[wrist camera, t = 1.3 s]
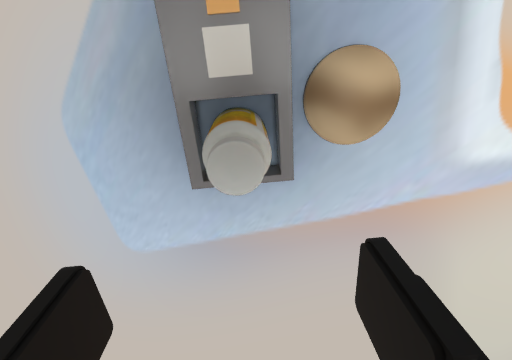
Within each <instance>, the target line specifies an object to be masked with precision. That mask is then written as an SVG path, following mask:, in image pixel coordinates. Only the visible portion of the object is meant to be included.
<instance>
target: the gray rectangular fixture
mask: <svg viewBox="0 0 512 360" xmlns="http://www.w3.org/2000/svg"><path fill="white" fill-rule="evenodd" d="M154 3H155V8H156V12H157V17H158V22H159V27H160V32H161V37H162V42H163V47H164V52H165V57H166V62H167V67H168V72H169V77H170V82H171V87H172V92H173V97H174V102H175V107H176V112H177V117H178V121H179V126H180V131H181V136H182V141H183V146H184V151H185V156H186V161H187V166H188V171H189V176H190V181H191V186H192V189H201V188H212V187H214V186H213V185H212V184H211V182H210V180H209V178H208V176H207V172H206V168H205V166H204V163H203V159H202V143H201V137H200V131H199V126H198V120H197V114H196V108H195V102H194V101H196V100H208V99H219V98H230V97H242V96H253V95H264V94H275V108H276V129H277V151H278V165H274V166H269V168H268V170H267V172H266V173H265V175H264V177H263V180H262V182H261V183H267V182H278V181H289V180H294V170H293V123H292V76H291V30H290V0H154Z"/></svg>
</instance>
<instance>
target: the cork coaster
mask: <svg viewBox="0 0 512 360" xmlns="http://www.w3.org/2000/svg"><path fill="white" fill-rule="evenodd" d="M399 96H400V78H399V73H398V70H397V68H396V66H395V64H394V62H393V61H392V60H391V58H390V57H389V56H388V55H387V54H385V53H384V52H383V51H381V50H379V49H377V48H375V47H372V46H368V45H351V46H346V47H343V48H340V49H338V50H335V51H333V52H332V53H330V54H329V55H327V56H326V57H325V58H324V59H322V60H321V61H320V62H319V64H318V65H317V66H316V67H315V69H314V70H313V71H312V73H311V75H310V77H309V79H308V81H307V84H306V87H305V91H304V99H303V104H304V111H305V115H306V118H307V120H308V122H309V124H310V126H311V127H312V129H313V130H314V131H315V132H316V133H317V134H318V135H319V136H321V137H322V138H323V139H325V140H327V141H329V142H332V143H336V144H343V145H345V144H355V143H359V142H362V141H364V140H367V139H368V138H370V137H372V136H373V135H375V134H376V133H378V132H379V131H380V130H381V129H382V128H383V127H384V126H385V125H386V124H387V122H388V121H389V120H390V118H391V117H392V115H393V113H394V111H395V109H396V107H397V104H398V101H399Z"/></svg>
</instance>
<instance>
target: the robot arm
mask: <svg viewBox="0 0 512 360" xmlns="http://www.w3.org/2000/svg"><path fill="white" fill-rule="evenodd" d="M355 303H356V308H357V311H358V313H359V315H360V317H361V320H362V322H363V324H364V326H365V328H366V330H367V332H368V335H369V337H370V339H371V341H372V343H373V346H374V348H375V350H376V352H377V354H378V357H379V359H380V360H489V359H488V357H487V356H486V355H485V354H484V353H483V351H482V350H481V349H480V348H479V347H478V345H477V344H476V343H475V342H474V340H473V339H472V338H471V337H470V335H469V334H468V333H467V332H466V331H465V329H464V328H463V327H462V326H461V325H460V323H459V322H458V321H457V320H456V318H455V317H454V316H453V315H452V314H451V313H450V311H449V310H448V309H447V308H446V307H445V305H444V304H443V303H442V301H441V300H440V299H439V298H438V297H437V295H436V294H435V293H434V292H433V291H432V289H431V288H430V287H429V286H428V285H427V283H426V282H425V281H424V280H423V279H422V278H421V277H420V276H418V275H415V274H414V272H413V271H412V270H411V269H410V268H409V266H408V265H407V264H406V263H405V261H404V260H403V259H402V258H401V256H400V255H399V254H398V253H397V251H396V250H395V249H394V248H393V246H392V245H391V244H390V243H389V241H388V240H387V239H386V238H384V237H379V238H368V239H366V241H365V243H362V244H361V246H360V256H359V266H358V276H357V286H356V296H355ZM112 330H113V324H112V321H111V319H110V316H109V314H108V311H107V309H106V307H105V305H104V303H103V300H102V298H101V295H100V293H99V291H98V289H97V286H96V284H95V282H94V279H93V277H92V275H91V273H90V271H89V270H86V269H85V267H83V266H74V267H64V268H62V269H60V270H59V271H58V272H57V273H56V275H55V276H54V277H53V278H52V279H51V280H50V282H49V283H48V284H47V285H46V286H45V287H44V288H43V290H42V291H41V292H40V293H39V294H38V295H37V296H36V298H35V299H34V300H33V301H32V302H31V303H30V305H29V306H28V307H27V308H26V309H25V310H24V312H23V313H22V314H21V315H20V316H19V317H18V319H16V321H15V322H14V323H13V324H12V325H11V327H10V328H9V329H8V330H7V331H6V332H5V333H4V334H3V336H2V337H1V338H0V360H100V357H101V355H102V353H103V351H104V349H105V347H106V345H107V342H108V341H109V339H110V336H111V334H112Z"/></svg>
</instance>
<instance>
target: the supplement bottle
mask: <svg viewBox="0 0 512 360" xmlns="http://www.w3.org/2000/svg"><path fill="white" fill-rule="evenodd" d="M271 157H272V151H271V146H270V142H269V139H268V135H267V132H266V128H265V125H264V123H263V121H262V119H261V118H260V117H259V116H258V115H257V114H256V113H255V112H253V111H252V110H250V109H247V108H242V107H234V108H229V109H227V110H225V111H223V112H222V113H220V114H219V115H218V116H217V118H216V119H215V121H214V122H213V124H212V126H211V129H210V131H209V133H208V135H207V137H206V139H205V141H204V144H203V149H202V159H203V163H204V166H205V168H206V172H207V176H208V178H209V180H210V182H211V184H212V185H213V186H214V187H215V188H216V189H217V190H219V191H221V192H223V193H225V194H228V195H235V196H237V195H244V194H247V193H249V192H251V191H253V190H254V189H256V188H257V187H258V186H259V184H260V183H261V182H262V180H263V177H264V175H265V173H266V172H267V170H268V168H269V166H270V163H271Z"/></svg>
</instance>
